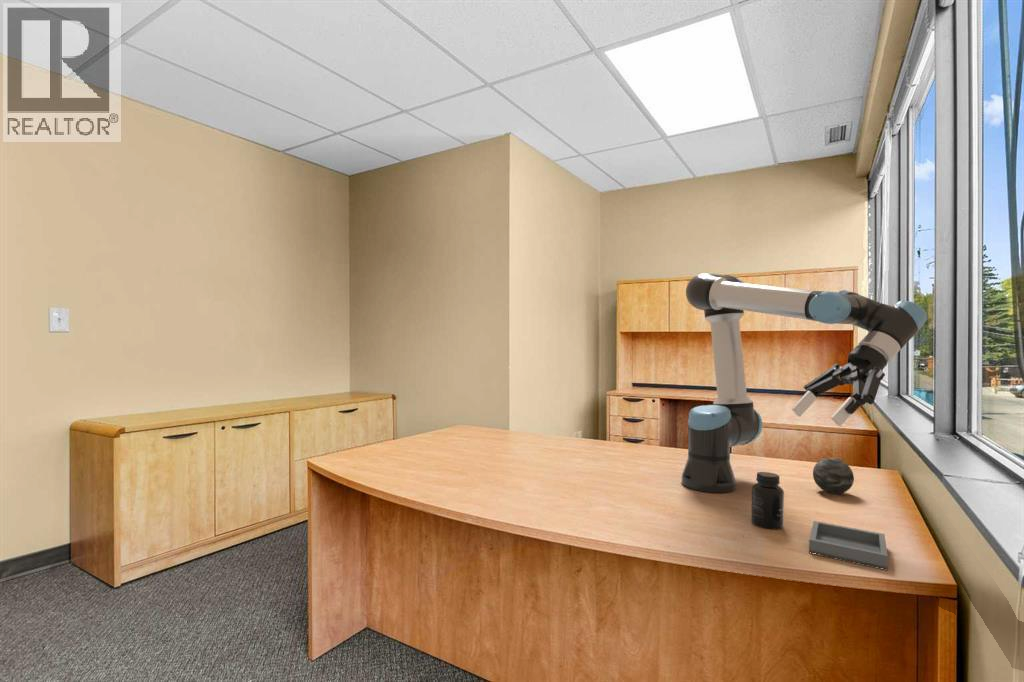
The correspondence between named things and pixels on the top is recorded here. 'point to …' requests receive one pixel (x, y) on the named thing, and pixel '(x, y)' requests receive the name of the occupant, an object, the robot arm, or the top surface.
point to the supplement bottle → (767, 501)
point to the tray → (849, 544)
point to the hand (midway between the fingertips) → (814, 417)
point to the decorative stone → (833, 475)
